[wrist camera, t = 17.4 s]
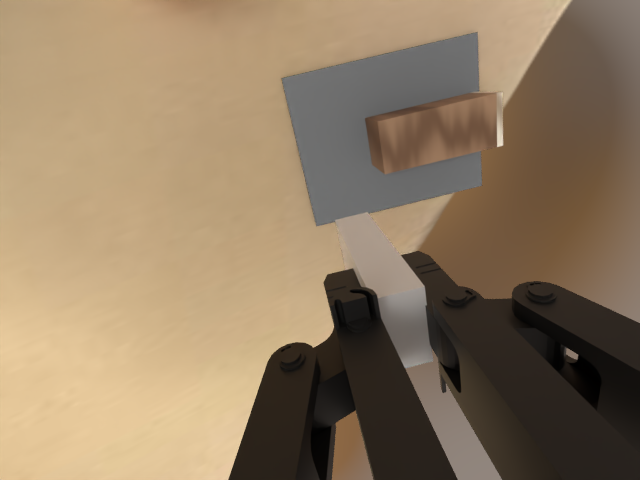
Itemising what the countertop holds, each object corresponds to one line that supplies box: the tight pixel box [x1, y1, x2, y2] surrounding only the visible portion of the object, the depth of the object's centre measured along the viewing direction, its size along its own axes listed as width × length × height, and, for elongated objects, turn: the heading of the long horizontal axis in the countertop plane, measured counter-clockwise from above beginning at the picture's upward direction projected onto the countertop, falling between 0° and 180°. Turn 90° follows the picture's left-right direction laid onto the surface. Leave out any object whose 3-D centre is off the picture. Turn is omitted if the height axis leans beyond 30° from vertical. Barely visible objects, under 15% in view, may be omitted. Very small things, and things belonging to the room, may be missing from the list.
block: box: [365, 92, 503, 174], centre depth 36 cm, size 5×5×12 cm
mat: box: [281, 32, 482, 226], centre depth 38 cm, size 16×20×1 cm
